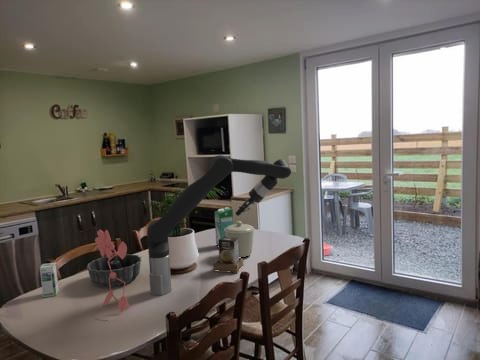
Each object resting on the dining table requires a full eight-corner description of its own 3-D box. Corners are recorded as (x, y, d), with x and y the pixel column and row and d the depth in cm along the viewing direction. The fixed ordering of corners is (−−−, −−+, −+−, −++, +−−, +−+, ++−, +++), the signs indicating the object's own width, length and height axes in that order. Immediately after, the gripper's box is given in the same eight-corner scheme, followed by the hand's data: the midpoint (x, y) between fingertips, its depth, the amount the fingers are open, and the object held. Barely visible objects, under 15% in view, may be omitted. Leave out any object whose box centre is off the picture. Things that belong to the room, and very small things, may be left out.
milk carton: (216, 245, 237) (214, 208, 234) (228, 243, 241) (227, 206, 238) (221, 249, 229) (219, 210, 226) (234, 246, 233) (232, 208, 230)
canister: (256, 260, 206) (254, 224, 203) (224, 261, 206) (222, 225, 204) (255, 250, 224) (254, 217, 221) (226, 251, 224) (224, 218, 222)
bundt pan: (97, 272, 196) (96, 255, 195) (147, 269, 198) (145, 251, 197) (80, 293, 170) (78, 272, 169) (137, 289, 172) (135, 269, 171)
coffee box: (219, 269, 192) (217, 239, 190) (224, 264, 198) (222, 236, 196) (235, 270, 189) (233, 240, 187) (239, 266, 195) (238, 237, 193)
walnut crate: (237, 273, 187) (236, 265, 186) (214, 271, 191) (213, 263, 191) (243, 266, 197) (243, 258, 196) (221, 264, 201) (221, 256, 200)
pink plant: (109, 296, 165) (101, 221, 160) (143, 312, 149) (135, 229, 144) (76, 310, 153) (66, 230, 148) (109, 329, 137) (100, 239, 132)
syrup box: (42, 297, 167) (39, 267, 165) (45, 292, 172) (42, 263, 170) (56, 296, 168) (53, 265, 166) (58, 291, 174) (55, 261, 172)
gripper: (258, 184, 191) (238, 205, 196) (250, 188, 178) (229, 210, 183) (268, 194, 190) (247, 215, 195) (261, 199, 177) (240, 221, 182)
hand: (239, 212), depth 189 cm, fingers open, 8 cm apart
